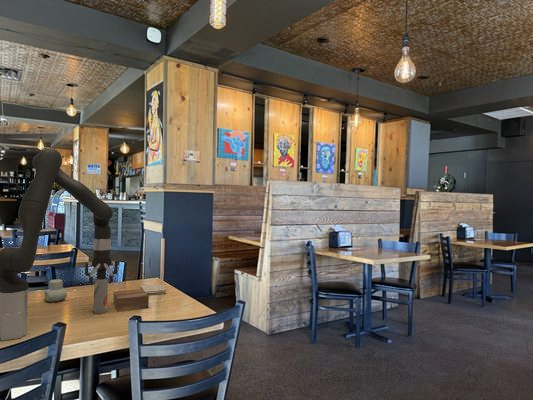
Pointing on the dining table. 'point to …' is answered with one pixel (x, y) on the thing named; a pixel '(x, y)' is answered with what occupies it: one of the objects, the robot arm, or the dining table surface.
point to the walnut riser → (130, 300)
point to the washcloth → (153, 289)
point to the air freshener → (55, 291)
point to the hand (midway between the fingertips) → (101, 283)
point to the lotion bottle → (100, 292)
